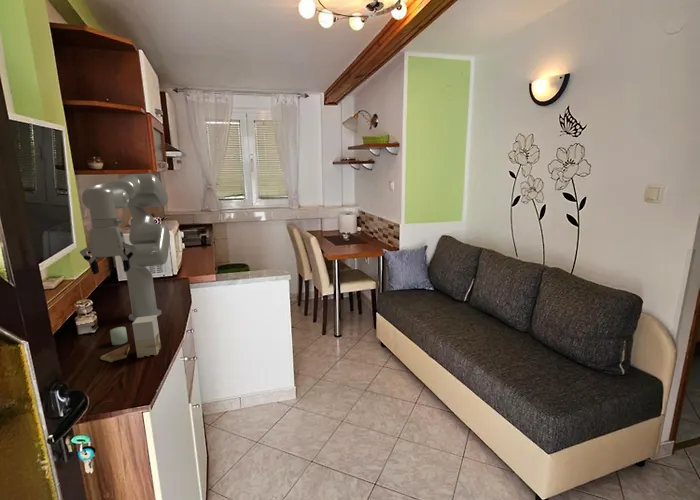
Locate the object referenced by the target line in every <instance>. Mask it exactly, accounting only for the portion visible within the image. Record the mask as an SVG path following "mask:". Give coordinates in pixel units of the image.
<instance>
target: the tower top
mask: <svg viewBox="0 0 700 500" xmlns="http://www.w3.org/2000/svg"><path fill="white" fill-rule="evenodd" d="M158 323H159V322H158V317H157V315H154V316H145V317H137V319H136V320H135V321H132V331H133V338H134V342H135V341H138V340H146V339H154V338H155V337H156V335H157V334H158V332H159V333H160V330H159V324H158Z"/></svg>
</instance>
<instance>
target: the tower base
mask: <svg viewBox="0 0 700 500" xmlns="http://www.w3.org/2000/svg"><path fill="white" fill-rule="evenodd" d="M160 338H161V337H160V331H159V332H158V334H157V335H156V337H155V338H154V339H146V340H138V341H135V340H134V344H135V350H136V357H137V358H145V357H144V356H147V357H151V356H150V355H154V356H157V355H158V354H159V352H160V351H161V349H162V344H161V339H160ZM159 350H160V351H159Z"/></svg>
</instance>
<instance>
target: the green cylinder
mask: <svg viewBox="0 0 700 500" xmlns="http://www.w3.org/2000/svg"><path fill="white" fill-rule="evenodd" d="M109 334H110V341H111V345H112V346H120V345H124V344H126V343H127V342H128V341H129V340H128V333H127V327H126V326H117V327H114V328H112V329H110V330H109Z"/></svg>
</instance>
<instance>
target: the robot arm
mask: <svg viewBox="0 0 700 500" xmlns="http://www.w3.org/2000/svg"><path fill="white" fill-rule="evenodd" d="M81 201H82V204H83V205H84V207H86V208H87V209H89V216H90V217H89V218H90V223H91V228H90V231H89V245H88V246H87V247H85V248H84V249H82V250H80V251H79V253H80V255H81V256H82V257H83V259H84V260H85V261H87V262H88V263H89V264H90V271H91V272H92V274H93V275H97V274H98V273H100V271H99V270H100V269H99V263H98V261H97V260H98V258H107V257H108V258H109V257H120V258H121V263H122V267H123V272H125V276H126V281H127V287H128V293H129V300H130V305H131V306H130V307H131V312H132V313H130V314H129V315H128V320H129V321H131V322H134V321H135V320H136V319H137V317H145V316H154V315H157V318H158V317H159V316H160V315H162V309H159V308H158V306H157V300H156V299H157V297H156V292H155V285H154V284H155V283H154V278H153V274H152V272H151V271H150V270H149V269H148V268H147V267H154V266H155V267H156V266H163V265H165V264H166V263H167V261H168V256H169V249H170V241H171V235H170V234H171V232H170V229H169V227H168V226H167V225H166V224H163V223H154V222H155V221H154V217H153V215H152V214H151V213H150V212H149V211H148V210H146V209H145V208H152V207H153V208H154V207H164V206H166V205H167V204H168V202H169V195H168V192H167V190H166V188H165V187H164V185H163V184H162V182H161V181H160V178H159V177H158V176H156V175H155V174H153V173H131V174H127V175H125V176H123V177H121V178H119V179H116V180H112V181H111V180H110V181H107V182H102V183H97V184H94V185H92V186H90V187H88V188H87V187H86V188H85V189H84V191H83V192H82V195H81ZM126 207H127V208H128V211H129V213H130V215H131V222H130V223H131V224H130V228H129V236H128V240H129V243H130V244H129V243H126V241H125V237H124V233H123V230H122V227H121V226H119V225H121V224H123V223H122V220H121V219H118V218H117V211H116V210H117V209H123V208H126ZM89 251H90V255H89V254H88V253H87V252H89Z"/></svg>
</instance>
